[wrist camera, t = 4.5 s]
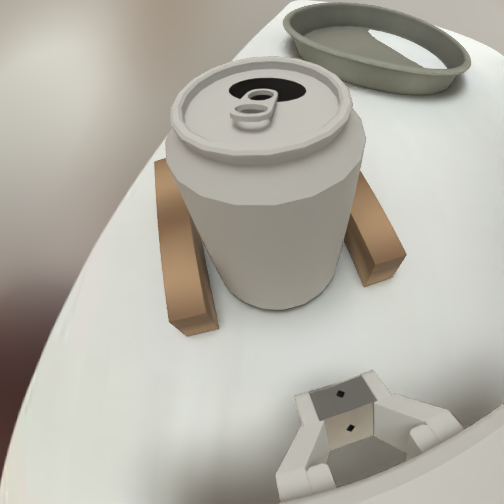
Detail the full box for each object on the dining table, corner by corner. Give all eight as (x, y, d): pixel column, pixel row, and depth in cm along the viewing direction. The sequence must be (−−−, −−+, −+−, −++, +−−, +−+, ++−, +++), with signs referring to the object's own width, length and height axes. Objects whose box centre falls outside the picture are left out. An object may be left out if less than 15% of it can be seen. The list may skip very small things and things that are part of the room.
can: (342, 218, 21) (368, 54, 10) (327, 325, 17) (375, 184, 7) (236, 203, 22) (197, 48, 12) (204, 301, 19) (110, 159, 9)
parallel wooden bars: (392, 277, 18) (406, 254, 16) (186, 336, 18) (169, 321, 15) (324, 147, 24) (326, 118, 22) (167, 187, 24) (154, 161, 21)
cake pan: (476, 132, 24) (490, 99, 20) (257, 79, 31) (252, 44, 27) (451, 49, 35) (456, 27, 31) (309, 17, 41) (308, -5, 37)
